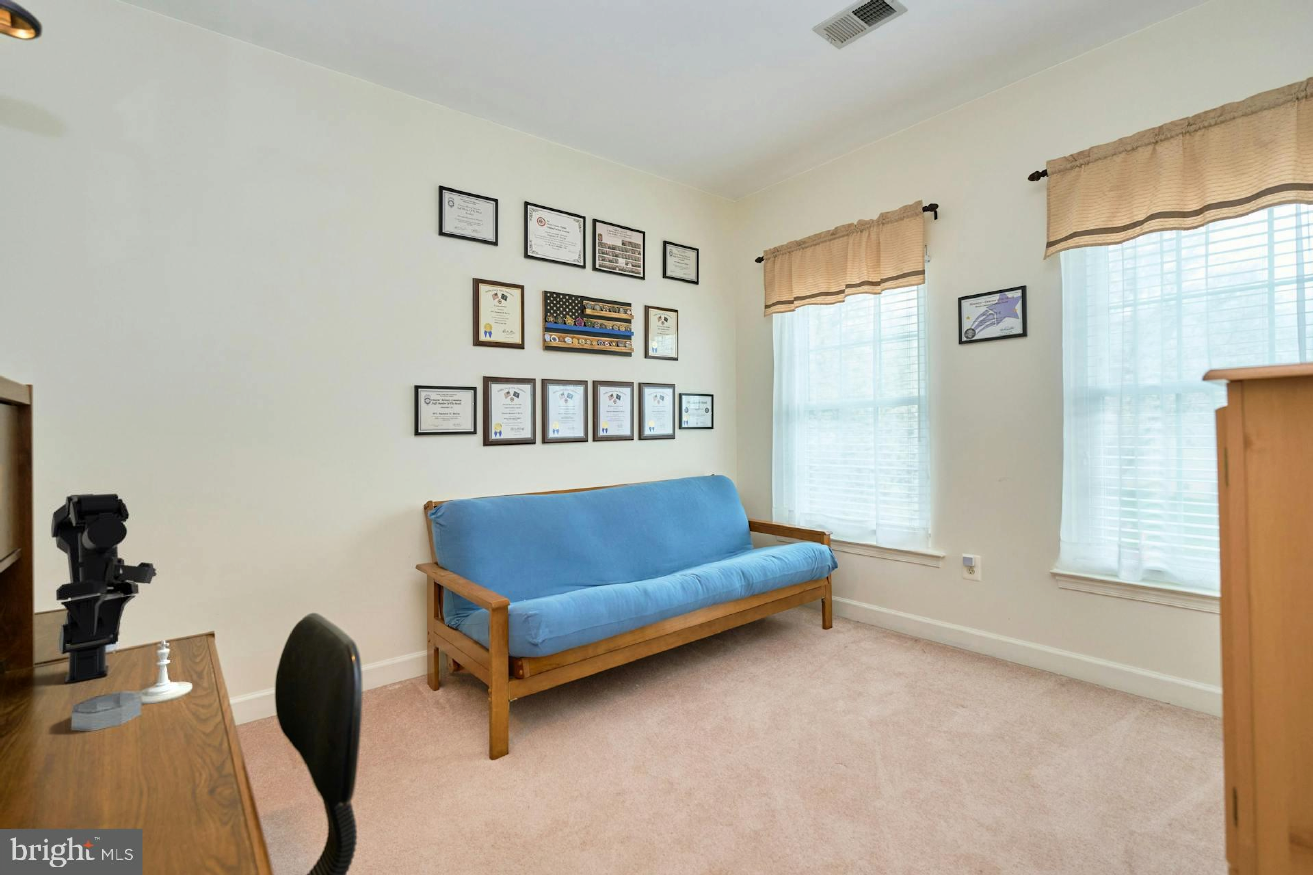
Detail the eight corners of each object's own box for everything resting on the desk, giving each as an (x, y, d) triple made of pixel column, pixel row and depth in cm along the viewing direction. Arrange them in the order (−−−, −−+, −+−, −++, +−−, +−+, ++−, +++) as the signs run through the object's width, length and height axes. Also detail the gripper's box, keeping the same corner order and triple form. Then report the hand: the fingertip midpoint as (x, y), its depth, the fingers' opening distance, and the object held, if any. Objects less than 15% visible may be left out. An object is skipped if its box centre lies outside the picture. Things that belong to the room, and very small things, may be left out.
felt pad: (133, 692, 119) (133, 689, 119) (190, 681, 125) (190, 678, 125) (133, 708, 112) (133, 704, 112) (193, 694, 118) (193, 691, 118)
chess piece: (168, 695, 117) (169, 643, 117) (140, 696, 116) (141, 645, 116) (184, 684, 122) (184, 635, 122) (156, 686, 121) (157, 637, 121)
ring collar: (74, 716, 109) (74, 700, 109) (141, 702, 115) (141, 687, 115) (70, 735, 102) (70, 718, 102) (141, 719, 108) (141, 703, 108)
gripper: (128, 543, 115) (133, 625, 112) (165, 550, 132) (170, 622, 129) (53, 555, 111) (56, 641, 108) (101, 561, 128) (105, 635, 125)
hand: (102, 633), depth 118 cm, fingers open, 9 cm apart
